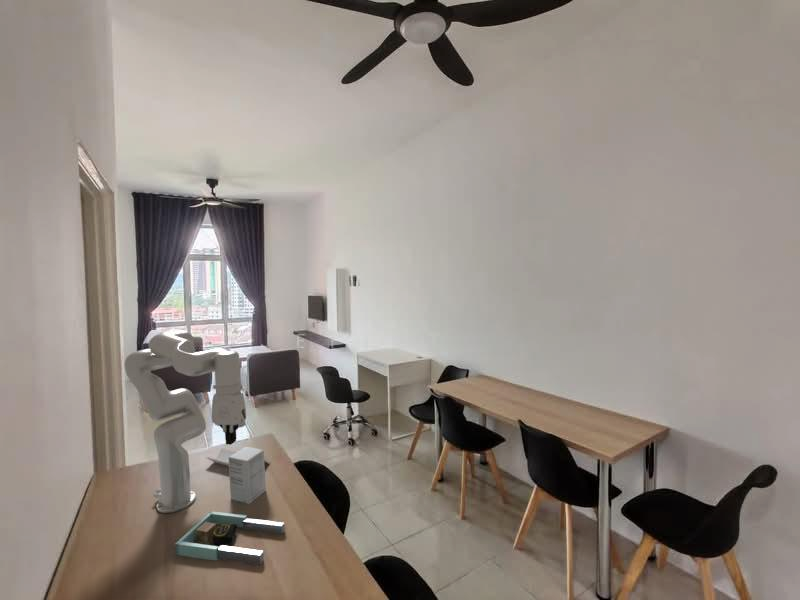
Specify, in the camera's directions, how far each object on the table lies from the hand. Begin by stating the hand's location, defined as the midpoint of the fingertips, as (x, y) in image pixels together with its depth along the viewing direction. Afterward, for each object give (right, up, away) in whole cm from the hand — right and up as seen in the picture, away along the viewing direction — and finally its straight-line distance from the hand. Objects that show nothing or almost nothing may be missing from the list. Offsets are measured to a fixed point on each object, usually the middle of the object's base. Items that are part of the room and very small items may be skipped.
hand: (231, 442), depth 125 cm
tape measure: (+1, -30, -5) cm, 30 cm away
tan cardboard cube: (-6, -30, -4) cm, 31 cm away
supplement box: (-2, -28, +20) cm, 34 cm away
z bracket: (-16, -27, +43) cm, 53 cm away
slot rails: (+10, -30, -7) cm, 32 cm away
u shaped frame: (-4, -30, -4) cm, 30 cm away
